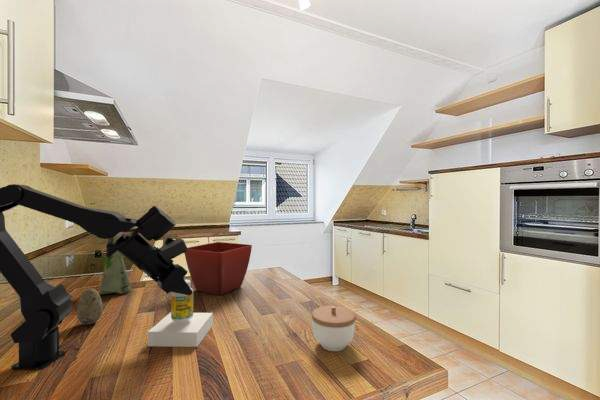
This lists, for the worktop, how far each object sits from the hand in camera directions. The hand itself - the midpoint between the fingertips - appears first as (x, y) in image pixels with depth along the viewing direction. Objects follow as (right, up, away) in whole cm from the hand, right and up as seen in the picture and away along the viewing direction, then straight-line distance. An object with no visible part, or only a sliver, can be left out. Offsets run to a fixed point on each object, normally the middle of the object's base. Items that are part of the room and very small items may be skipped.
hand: (187, 291), depth 77 cm
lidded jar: (+38, -12, -5) cm, 40 cm away
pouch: (-41, -11, +33) cm, 53 cm away
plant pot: (-3, -11, +38) cm, 40 cm away
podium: (-1, -11, -1) cm, 11 cm away
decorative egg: (-30, -11, +6) cm, 32 cm away
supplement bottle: (-1, -7, -1) cm, 7 cm away
